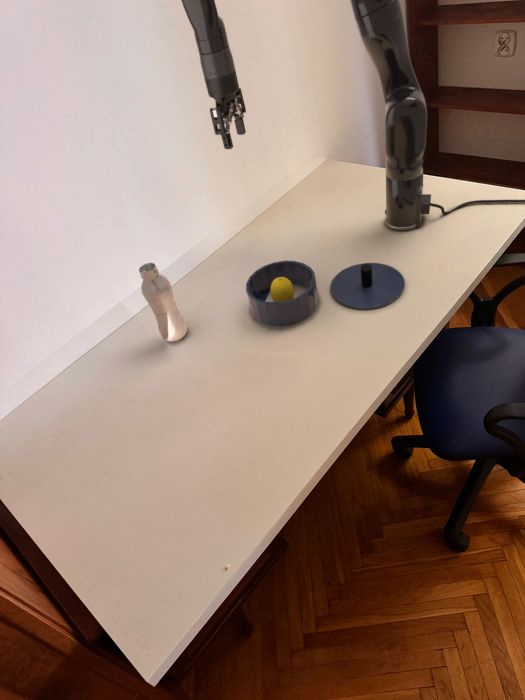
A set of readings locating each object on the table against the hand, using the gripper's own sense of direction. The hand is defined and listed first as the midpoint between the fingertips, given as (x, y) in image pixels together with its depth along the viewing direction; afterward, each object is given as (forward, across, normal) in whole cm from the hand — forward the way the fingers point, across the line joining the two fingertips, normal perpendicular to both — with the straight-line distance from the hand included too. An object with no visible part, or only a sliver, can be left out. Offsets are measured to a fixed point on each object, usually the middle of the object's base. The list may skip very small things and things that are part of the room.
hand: (235, 141), depth 121 cm
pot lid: (+27, -21, -37) cm, 50 cm away
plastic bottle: (+28, -44, +5) cm, 52 cm away
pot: (+28, -30, -19) cm, 45 cm away
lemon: (+28, -30, -19) cm, 45 cm away
